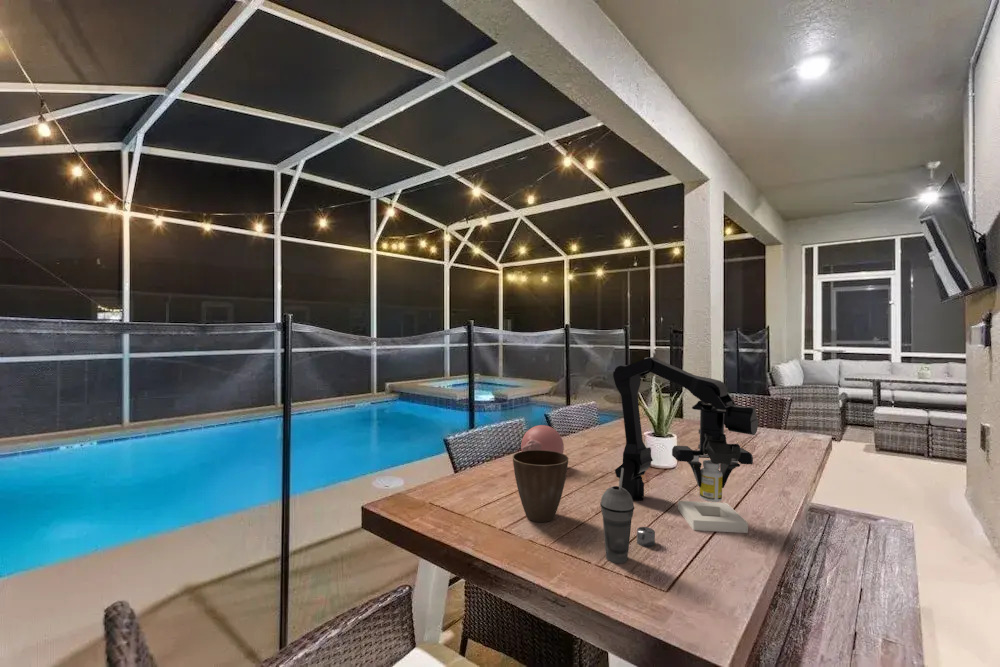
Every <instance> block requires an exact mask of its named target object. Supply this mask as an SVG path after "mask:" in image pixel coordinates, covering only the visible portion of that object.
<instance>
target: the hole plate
mask: <svg viewBox="0 0 1000 667" xmlns="http://www.w3.org/2000/svg"><path fill="white" fill-rule="evenodd" d="M677 506H678V507H677V509H678V512H679V513H680V515H682V517H683V518H684V519H685V521H686V522H687V524H688V526H690V528H691V529H692V531H705V532H721V533H722V532H724V533H727V532H728V533H739V534H740V533H741V534H742V533H743V534H748V533H749V532H748V531H749V523H748V522H747V521H746V520H745V518H744V517H742V516H741V515H740V514H739V513H738V512H737V511H736V510H735V509H734V508H733V507H732V506H731V505H729V504H728V503H727V502H710V501H692V500H690V501H689V500H678V501H677Z"/></svg>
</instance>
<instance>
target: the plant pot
mask: <svg viewBox="0 0 1000 667" xmlns="http://www.w3.org/2000/svg"><path fill="white" fill-rule="evenodd" d="M512 462H513V465H512V466H513V469H514V470H513V472H514V478H515V482H516V487H517V491H518V494H519V499H520V502H521V504H522V508H523V511H524V513H525V516H526V518H527V519H528V520H530V521H532V522H536V523H547V522H551V521H553V520H554V519H555V516H556V514H557V511H558V508H559V506H560V502H561V499H562V495H563V491H564V487H565V483H566V478H567V473H568V466H569V456H568V455H566V454H564V453H563V454H562V453H559V452H554V451H546V450H528V451H522V450H521V451H518V452H516V453H513V455H512Z"/></svg>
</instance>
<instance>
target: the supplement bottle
mask: <svg viewBox="0 0 1000 667" xmlns="http://www.w3.org/2000/svg"><path fill="white" fill-rule="evenodd" d="M699 497H700V499H701V500H704V501H705V502H716V503H721V502H722V500H723V488H722V472H721V471H720V464H714V463H712V462H711V460H710V459H704V460H703V461H702V468H701V487H699Z"/></svg>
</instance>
